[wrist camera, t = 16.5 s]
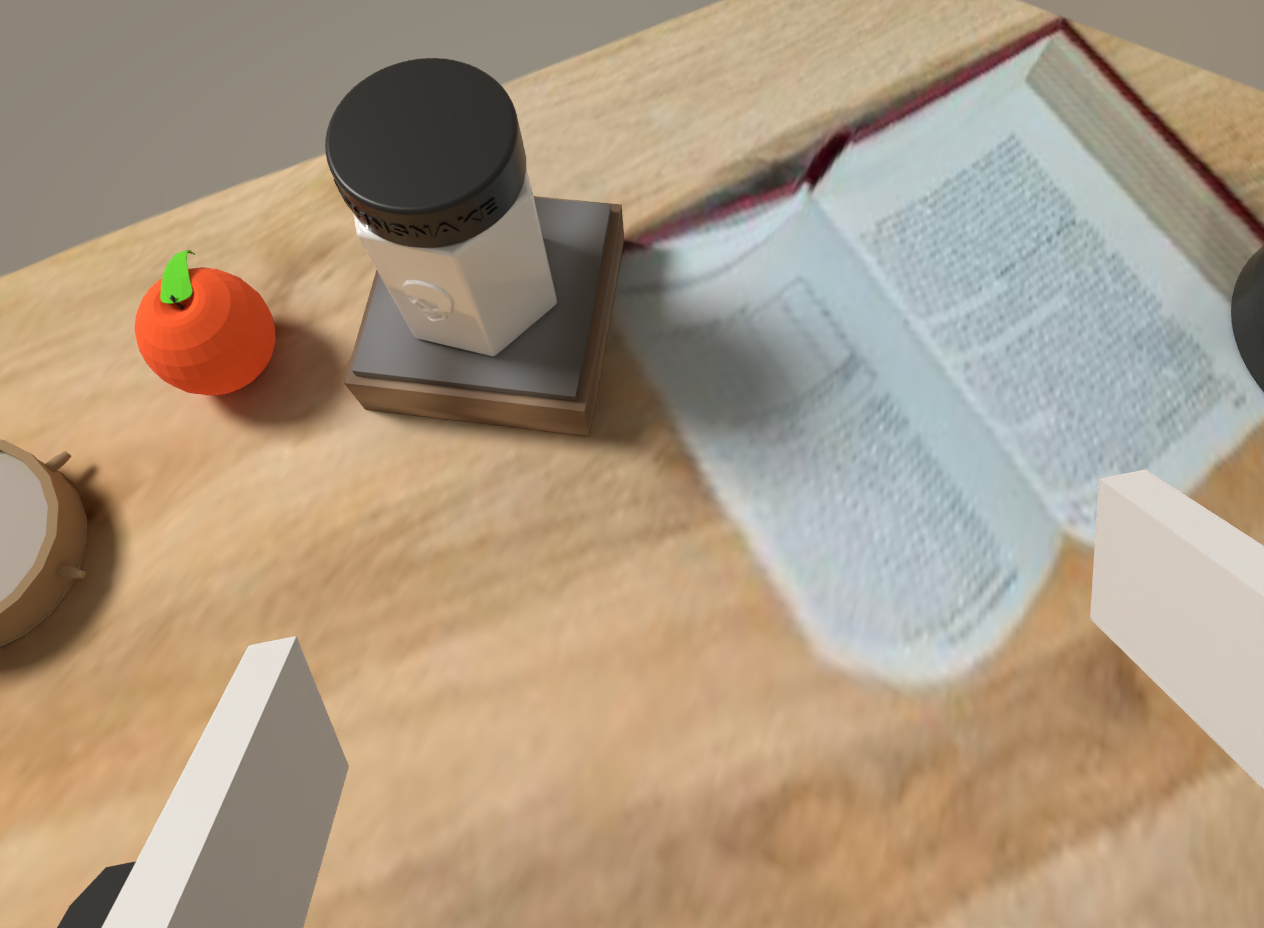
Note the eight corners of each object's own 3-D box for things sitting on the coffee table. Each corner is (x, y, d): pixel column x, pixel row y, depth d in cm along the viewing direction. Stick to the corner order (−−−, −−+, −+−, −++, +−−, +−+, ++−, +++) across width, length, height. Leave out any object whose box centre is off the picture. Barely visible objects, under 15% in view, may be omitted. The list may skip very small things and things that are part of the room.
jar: (375, 333, 46) (282, 188, 35) (428, 210, 49) (357, 39, 38) (533, 371, 45) (489, 234, 34) (579, 243, 48) (552, 76, 37)
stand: (624, 239, 53) (620, 198, 49) (589, 436, 48) (583, 406, 44) (417, 219, 54) (398, 176, 50) (364, 409, 49) (339, 378, 46)
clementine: (174, 309, 52) (102, 238, 46) (288, 283, 52) (233, 210, 46) (180, 427, 49) (104, 371, 43) (301, 400, 50) (244, 340, 43)
